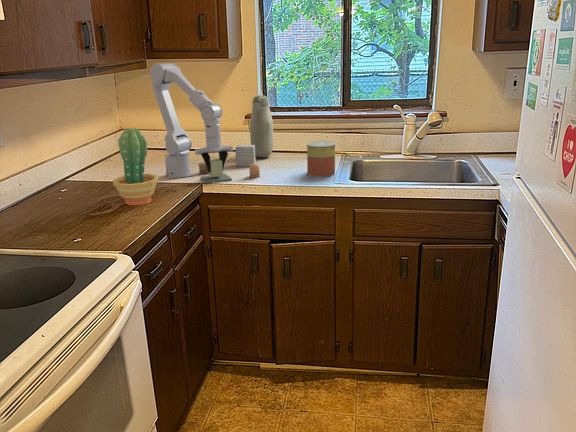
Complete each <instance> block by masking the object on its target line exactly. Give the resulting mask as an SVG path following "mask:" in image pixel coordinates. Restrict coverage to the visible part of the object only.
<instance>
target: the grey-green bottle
mask: <svg viewBox="0 0 576 432" xmlns="http://www.w3.org/2000/svg"><path fill="white" fill-rule="evenodd" d="M251 105H252V106H251V107H252V109H251V114H250V118H249V133H250V134H249V135H250V139H249V140H250V145H255V157H256V158H261V159H265V158H268V157H269V156H271V154H272V152H273V150H274V122H273V117H272V113H271V110H270V109H271V108H270V101H269V97H267V95H266V96H265V95H261V94H259V95H256V96H254V97H253V99H252V104H251Z"/></svg>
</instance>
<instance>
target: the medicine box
mask: <svg viewBox="0 0 576 432" xmlns="http://www.w3.org/2000/svg"><path fill="white" fill-rule="evenodd" d="M234 150H235V166H236V167H249V164H253V163H256V161H257V160H256V156H255V145H251V144H238V145H236V146H235V148H234Z"/></svg>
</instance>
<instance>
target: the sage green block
mask: <svg viewBox="0 0 576 432" xmlns="http://www.w3.org/2000/svg"><path fill="white" fill-rule="evenodd" d="M210 168H211V172H209V174H208V176H209V175H210V176H211V177H217V176H223V174H224V169H223V167H222V160H220V158H219V157H218V158H210Z"/></svg>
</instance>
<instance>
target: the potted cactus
mask: <svg viewBox="0 0 576 432" xmlns="http://www.w3.org/2000/svg"><path fill="white" fill-rule="evenodd" d="M117 142H118V150H119V153H120V154H119V155H120V156H121V159H122V161H123V174H124V175H121V176H118V177H116V178H114V179H113V180H112V184H113V187H114V188H116V189H117V191H118V194H119V195H120V196H121V198H122V199H123V200H124V202H125V203H124V204H125V205H129V206H140V205H142V206H143V205H146V204H149V203H151V202H152V196H153V195H154V193H155V190H156V186H157V184H158V183H159V175H157V174H153V173H145V161H146V158H147V154H148V143H147V142H148V140H147V139H146V138H145V136H144V134H143V133H141V131H140V129H138V128H136V127H135V128H131V127H128V128H124V130H123V131H122V133H121V134H120V136H119V137H118V139H117Z"/></svg>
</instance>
